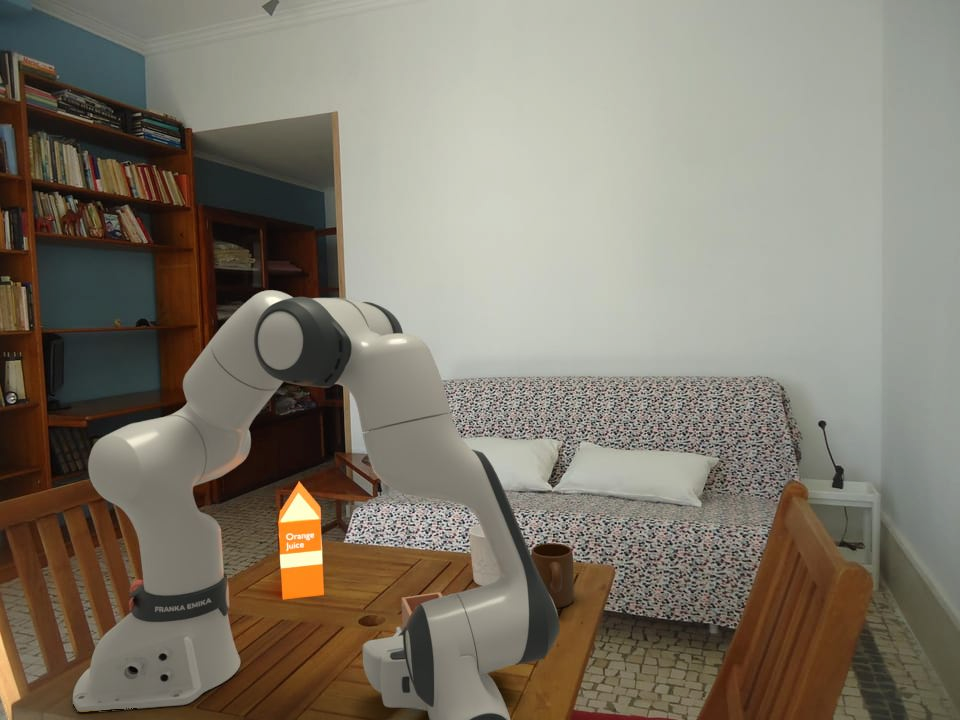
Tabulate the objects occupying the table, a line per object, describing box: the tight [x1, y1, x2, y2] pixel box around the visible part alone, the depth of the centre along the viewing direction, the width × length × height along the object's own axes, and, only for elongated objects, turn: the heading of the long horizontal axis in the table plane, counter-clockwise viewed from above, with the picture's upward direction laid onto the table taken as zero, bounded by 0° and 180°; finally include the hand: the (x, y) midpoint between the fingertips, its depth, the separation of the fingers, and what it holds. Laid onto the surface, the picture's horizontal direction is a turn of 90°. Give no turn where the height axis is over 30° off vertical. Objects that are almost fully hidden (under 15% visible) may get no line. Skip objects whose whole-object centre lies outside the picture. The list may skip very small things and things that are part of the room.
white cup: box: [468, 524, 499, 587], centre depth 141 cm, size 8×8×10 cm
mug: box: [530, 542, 575, 609], centre depth 128 cm, size 12×8×9 cm, turn 1°
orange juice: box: [277, 481, 325, 600], centre depth 139 cm, size 8×9×20 cm
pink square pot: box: [400, 591, 443, 627], centre depth 108 cm, size 6×7×10 cm
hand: (425, 627), depth 108 cm, fingers closed on pink square pot, 6 cm apart
